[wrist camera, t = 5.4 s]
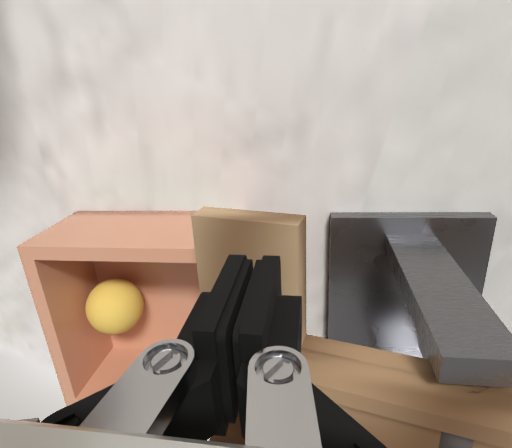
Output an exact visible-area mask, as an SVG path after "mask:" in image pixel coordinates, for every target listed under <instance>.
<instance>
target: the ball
mask: <svg viewBox="0 0 512 448" xmlns="http://www.w3.org/2000/svg"><path fill="white" fill-rule="evenodd" d="M143 309H144V300H143V296H142V293H141V291H140V290H139V289H138V287H137V286H136V285H134V284H133V283H132V282H130V281H128V280H125V279H118V278H115V279H109V280H106V281H103V282H101V283H100V284H98V285H97V286H96V287H95V288H94V289H93V290H92V291H91V293H90V294H89V296H88V298H87V301H86V307H85V311H86V316H87V319H88V321H89V323H90V324H91V325H92V326H93V327H94V328H95V329H96V330H98V331H99V332H102V333H104V334H111V335H114V334H121V333H124V332H126V331H128V330H130V329H131V328H132V327H134V326H135V325H136V324H137V322H138V321H139V319H140V318H141V316H142V313H143Z"/></svg>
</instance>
